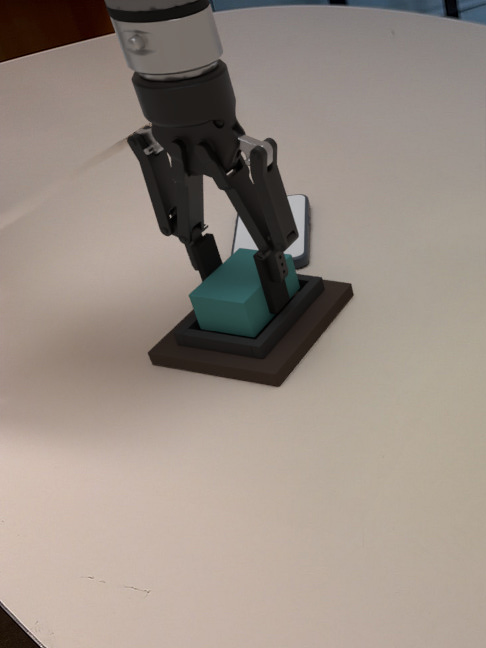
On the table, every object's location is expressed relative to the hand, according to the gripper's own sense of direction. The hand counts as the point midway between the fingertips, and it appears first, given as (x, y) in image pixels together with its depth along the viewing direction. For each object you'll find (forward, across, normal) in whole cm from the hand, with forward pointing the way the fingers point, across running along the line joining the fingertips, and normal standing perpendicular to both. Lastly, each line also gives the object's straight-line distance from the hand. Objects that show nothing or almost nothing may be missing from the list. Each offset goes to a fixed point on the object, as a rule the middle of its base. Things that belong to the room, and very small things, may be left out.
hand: (249, 301), depth 81 cm
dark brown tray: (+3, 0, 0) cm, 3 cm away
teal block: (+1, 0, 0) cm, 1 cm away
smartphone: (+4, -8, +17) cm, 19 cm away
